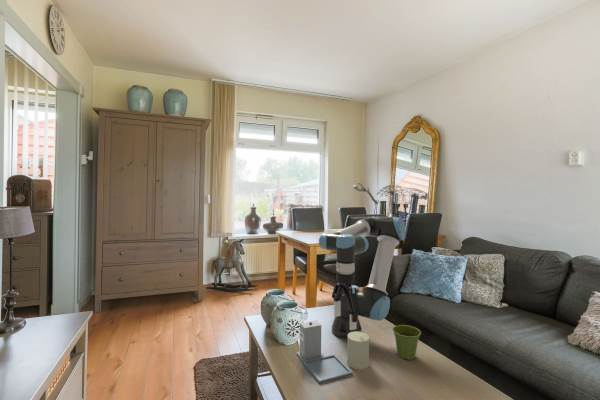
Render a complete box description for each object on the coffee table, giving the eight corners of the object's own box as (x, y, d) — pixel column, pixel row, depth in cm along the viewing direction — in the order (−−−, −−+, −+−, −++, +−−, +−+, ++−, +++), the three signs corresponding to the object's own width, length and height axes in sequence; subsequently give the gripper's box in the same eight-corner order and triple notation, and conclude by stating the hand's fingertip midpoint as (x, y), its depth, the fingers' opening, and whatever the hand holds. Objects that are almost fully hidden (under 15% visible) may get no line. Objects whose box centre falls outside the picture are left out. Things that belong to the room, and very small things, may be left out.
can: (356, 371, 125) (356, 342, 125) (342, 360, 134) (342, 332, 133) (373, 366, 130) (374, 337, 129) (359, 355, 138) (360, 328, 138)
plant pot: (424, 355, 138) (425, 330, 138) (413, 366, 130) (414, 339, 129) (399, 346, 146) (399, 322, 146) (387, 355, 138) (387, 330, 137)
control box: (317, 349, 143) (317, 317, 142) (324, 357, 136) (324, 324, 136) (296, 354, 139) (296, 321, 138) (303, 362, 132) (303, 328, 132)
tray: (334, 356, 137) (334, 353, 137) (352, 375, 123) (352, 372, 123) (303, 363, 131) (303, 361, 131) (319, 383, 118) (319, 380, 117)
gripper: (324, 265, 141) (324, 312, 142) (352, 281, 118) (351, 337, 118) (339, 264, 144) (339, 310, 144) (369, 279, 120) (369, 333, 121)
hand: (344, 322), depth 131 cm, fingers open, 13 cm apart
